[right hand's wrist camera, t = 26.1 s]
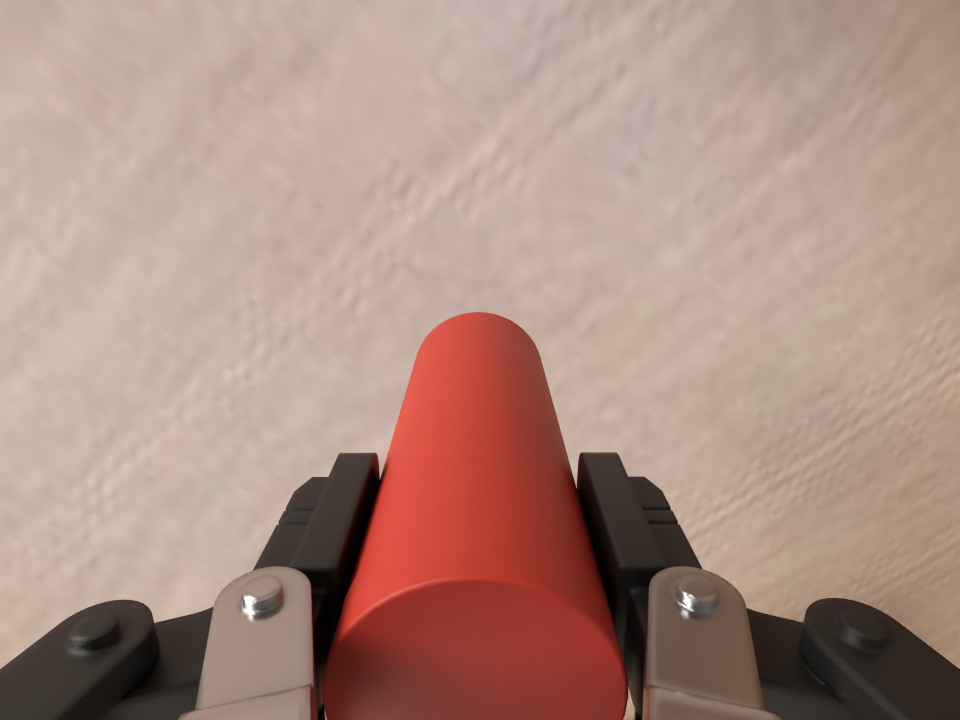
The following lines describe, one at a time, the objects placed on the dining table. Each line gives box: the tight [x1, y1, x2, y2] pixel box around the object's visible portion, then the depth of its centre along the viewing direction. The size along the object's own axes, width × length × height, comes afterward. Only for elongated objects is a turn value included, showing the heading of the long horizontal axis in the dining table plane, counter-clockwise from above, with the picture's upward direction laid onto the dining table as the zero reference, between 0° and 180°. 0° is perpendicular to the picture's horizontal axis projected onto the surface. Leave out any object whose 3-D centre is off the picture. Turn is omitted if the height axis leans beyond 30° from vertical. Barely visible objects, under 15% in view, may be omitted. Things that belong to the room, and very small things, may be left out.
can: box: [322, 312, 628, 720], centre depth 14 cm, size 4×4×12 cm
